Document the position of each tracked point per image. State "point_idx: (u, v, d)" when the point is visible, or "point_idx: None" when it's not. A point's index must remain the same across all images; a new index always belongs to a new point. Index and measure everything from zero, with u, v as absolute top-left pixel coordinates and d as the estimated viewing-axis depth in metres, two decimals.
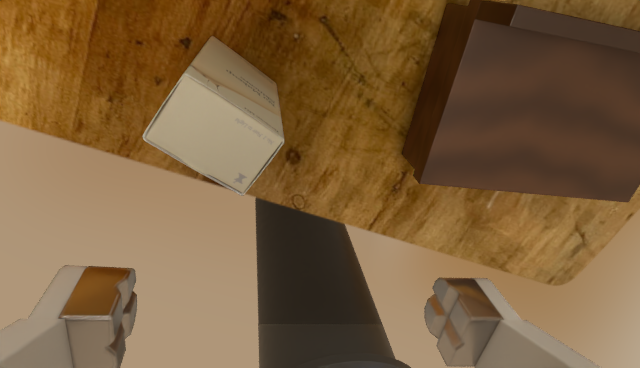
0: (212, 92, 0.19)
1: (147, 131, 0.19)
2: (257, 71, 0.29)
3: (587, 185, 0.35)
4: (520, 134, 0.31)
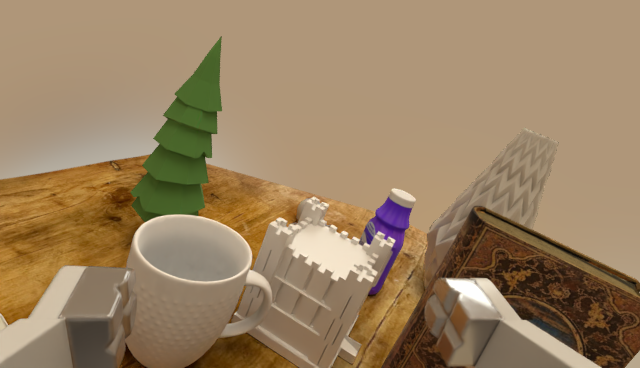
0: None
1: None
2: None
3: None
4: None
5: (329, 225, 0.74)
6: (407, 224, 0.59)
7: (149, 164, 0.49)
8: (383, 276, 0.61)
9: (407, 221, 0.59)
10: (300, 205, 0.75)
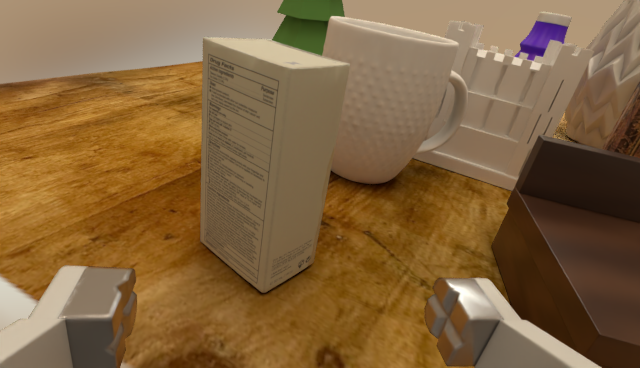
0: (284, 46, 0.20)
1: (210, 38, 0.19)
2: None
3: None
4: None
5: None
6: None
7: (286, 7, 0.45)
8: None
9: None
10: None
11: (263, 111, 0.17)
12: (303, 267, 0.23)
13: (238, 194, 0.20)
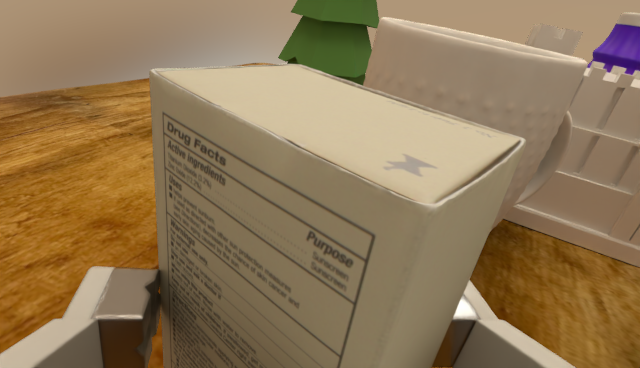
0: (340, 82, 0.09)
1: (171, 71, 0.08)
2: None
3: None
4: None
5: None
6: None
7: (303, 6, 0.34)
8: None
9: None
10: None
11: (311, 296, 0.06)
12: None
13: None
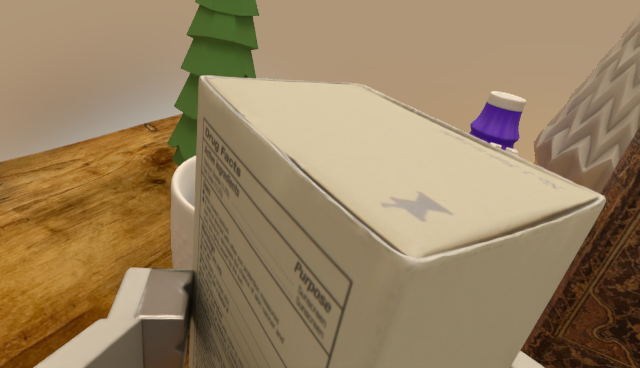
0: (399, 106, 0.09)
1: (221, 79, 0.08)
2: None
3: None
4: None
5: None
6: (517, 134, 0.45)
7: (182, 102, 0.39)
8: None
9: (517, 130, 0.45)
10: None
11: (294, 335, 0.05)
12: None
13: None
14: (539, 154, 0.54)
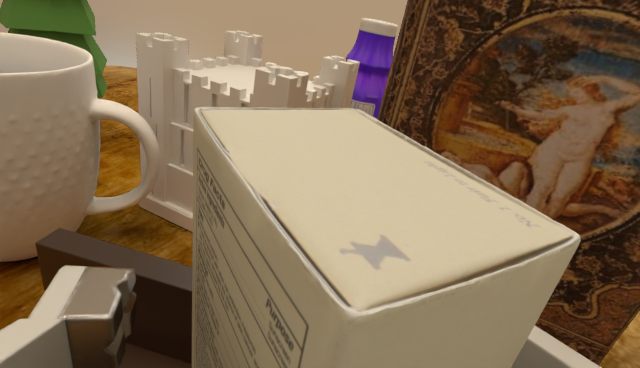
0: (390, 132, 0.09)
1: (216, 110, 0.08)
2: None
3: None
4: None
5: None
6: (390, 63, 0.42)
7: (1, 13, 0.35)
8: None
9: (390, 59, 0.42)
10: None
11: (267, 366, 0.05)
12: None
13: None
14: None
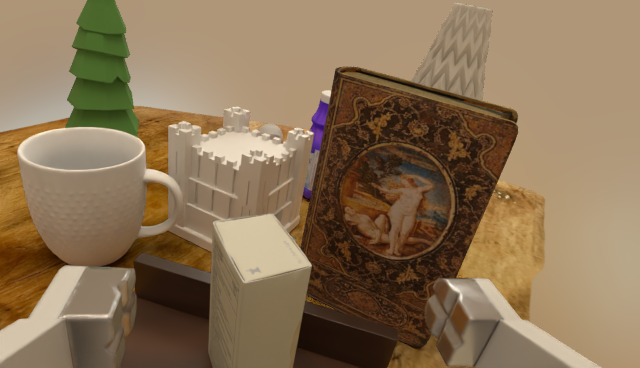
0: (280, 226, 0.25)
1: (219, 221, 0.25)
2: None
3: None
4: None
5: None
6: None
7: (71, 97, 0.52)
8: None
9: None
10: None
11: (232, 298, 0.22)
12: None
13: (222, 339, 0.25)
14: None
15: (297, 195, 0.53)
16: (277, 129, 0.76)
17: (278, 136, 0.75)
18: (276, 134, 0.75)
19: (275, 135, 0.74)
